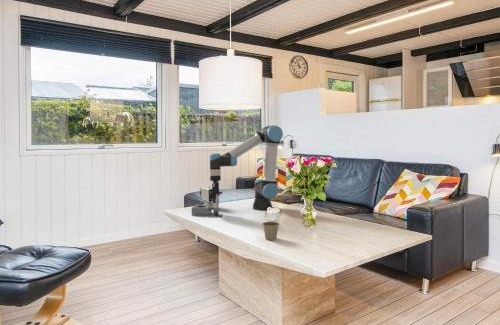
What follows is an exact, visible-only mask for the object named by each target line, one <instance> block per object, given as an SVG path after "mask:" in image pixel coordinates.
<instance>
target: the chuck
mask: <svg viewBox="0 0 500 325" xmlns="http://www.w3.org/2000/svg"><path fill="white" fill-rule="evenodd" d="M211 214H212V209H211V205H204V204H195V205H194V206H192V207H191V216H200V217H201V216H203V217H204V216H207V217H209V216H210V215H211Z"/></svg>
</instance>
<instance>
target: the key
mask: <svg viewBox="0 0 500 325" xmlns="http://www.w3.org/2000/svg"><path fill="white" fill-rule="evenodd" d="M208 194H212V192H208ZM218 194H220V195H223V191H219V192H216V202H217V207H216V208H212V209H213V214H214V216H218V215H219V214H220V213H219V210H220V209H219V205H218V196H219V195H218Z"/></svg>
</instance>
